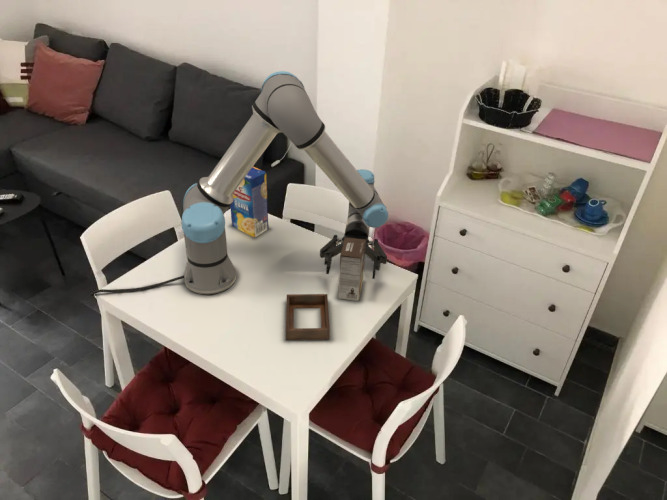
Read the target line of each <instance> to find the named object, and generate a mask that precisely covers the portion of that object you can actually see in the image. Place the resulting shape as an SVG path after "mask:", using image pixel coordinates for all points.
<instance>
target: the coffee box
mask: <svg viewBox="0 0 667 500" xmlns="http://www.w3.org/2000/svg"><path fill="white" fill-rule="evenodd" d="M365 247H366V240H364V239H356V238H345V239H344V243H343V247H342V250H341V253H340V254H339V256H340V257H339V272H338V273H339V274H338V293H337V294H338V295H337V298H338V299H339V300H340V299H341V300H350V301H355V302H358V301H359V300H360V296H361V293H362V287H363V282H364V270H365V258H366V254H365Z"/></svg>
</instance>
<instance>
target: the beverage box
mask: <svg viewBox="0 0 667 500" xmlns="http://www.w3.org/2000/svg"><path fill="white" fill-rule="evenodd" d="M267 182H268V181H267V171H265V170H262V169H260V168H258V167H255V166H253V167H252V168H251V170H250V171H249V172H248V174H247V175H246V176H245V178H244V179H243V180H242V182H241V183H240V184H239V186H238V187H237V188H236V190H235V191H234V192H233V194H232V195H233V202H232V204H231V205H230V206H229V208H230V209H229V210H230V220H231V227H233V228H235V229H237V230H239V231H240V232H243V233H244V234H247V235H248V236H250V237H252V238H256V237H258V236H260V235H261V234H263V233H264V232H266V231H268V230H269V211H268V208H269V207H268V185H267V184H268V183H267Z"/></svg>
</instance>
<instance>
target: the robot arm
mask: <svg viewBox="0 0 667 500" xmlns="http://www.w3.org/2000/svg"><path fill="white" fill-rule="evenodd" d="M251 109H252V114H251V116H250V117H249V119H248V121H247V122H246V123H245V125H244V126H243V127H242V128H241V131H240V132H239V133H238V135H236V137H235V139H233V142H232V143H231V144H230V146H229V147H228V149H227V150H226V151H225V153H224V155H223V156H222V157H221V158H220V160H219V161H218V162H217V164H216V165H215V167H214V168H213V170H211V173H210V174H209V175H208V176H203V177H201V178H200V179H199V180H198V182H195V183H194V184H192V185H191V186H189V188H187V190H186V192H185V194H184V196H183V200H182V207H183V213H182V214H181V215H182V216H181V222H180V223H181V229H182V232H183V233H182V234H183V239H184V244H185V252H186V259H187V261H186V265H185V268H184V272H183V275H181V276H178V277H174V278H171V279H168V280H165V281H162V282H158V283H154V284H151V285H146V286H145V285H144V286H140V287H133V288H132V287H131V288H119V289H118V288H117V289H107V288H106V289H105V288H104V289H103V288H102V289H101V288H100V289H96V290H94V291H92V292H91V293H90V294H89V297H93V296H94V295H96V294H99V293H125V292H135V291H143V290H149V289H153V288H156V287H159V286H160V287H161V286H163V285H167V284H169V283H174V282H175V281H179V280H182V279H183V281H184V285H185V287H186V288H187V289H188V290H189V291H190V292H193V293H195V294H199V295H215V294H219V293H222V292H224V291H226V290H228V289H230V288H231V287H232V286H233V285H234V283H235V282H236V278H237V272H236V267H235V266H234V264H233V262H232V260H231V258H230V256H229V255H228V254H229V252H228V243H227V232H226V218H225V214H226V212H227V210H228V209H229V208H230V205H231V204H232V202H233V195H232V194H233V192H234V191H235V190H236V188H237V187H238V186H239V184H240V183H241V182H242V180H243V179H244V178H245V176H246V175H247V174H248V172H249V171H250V170H251V168H252V167H255V164H256V163H257V161H258V160H259V159H260V158H261V157H262V155H263V154H264V152H265V151H266V150H267V148H268V147H269V146H270V144H271V143H272V141H273V140H274V139H275V137H276V136H277V135H278V134H280V133H282V134H283V135H284V136H285V137H286V138H287V139H289V141H290V142H291V143H292V144H293V145H294V146H295V147H296V148H297V150H303V151H304V152H305V153H306V154H307V155H308V157H310V159H311V160H312V161H313V162H314V163H315V164H316V165H317V167H318V168H319V169H320V170H321V171H322V172H323V174H324V175H325V176H326V177H327V178H328V179H329V181H331V182H332V183H333V185H334V186H335V187H336V188H337V189H338V191H340V193H341V194H342V195H343V196H344V197H345V198H346V200H347V201H348V212H347V218H346V222H345V223H346V224H345V229H344V234H343V237H339V236H338V235H337V234H334V235H333V236H332V239H330V240H329V241H328V242H327V243H326V244H324V245H323V246H322V247H321V248H320V249H319V258H322V259H323V258H324V259H323V264H324V265H325V266H326V269H325V271H326V273H325V274H326V275H330V271H331V266H332V261H333V258H334V257H336V256H338V255H340V254H341V250H342V247H343V243H344V239H345V238H356V239H364V240H366V247H365V256H367V258H369V259H370V260H371V261H372V262H373V266H372V267H373V268H372V277H371V279H372V280H375V279H376V272H377V271H380V269H381V264H382V265H386V264H387V261H388V255H387V254H386V253H385V251H384V249H383V248H382V246H381V245H380V243H379V239H378V238H374V240H369V235H370V228H372V229H376V228H377V229H378V228H380V227H382V226H384V225H385V224H386V223H387V221H388V219H389V211H388V209H387V205H385V204H384V202H383V200H382V198H381V197H380V195H379V192H378V191H377V190H376V187H375V182H376V181H375V174H374V173H373V172H372V171H371V170H369V169H365V168H364V169H363V168H362V169H356V167H355V166H354V165H353V164H352V162H351V161H350V160H349V159H348V158H347V156H346V155H345V154H344V153H343V151H342V150H341V149H340V147H338V145H337V144H336V143H335V141H334V140H333V139H332V137H330V135H329V134H328V133H327V132H326V125H325V123H324V122H323V120H322V119H321V118H320V117H319V115H318V113H317V111H316V109H315V107H314V105H313V103H312V101H311V98H310V96H309V95H308V93H307V91H306V89H305V85H304V84H303V82H302V81H301V80H300V79H299V77H297V75H295V74H294V73H292V72H290V71H286V70H279V71H275V72H271V74H269V75H267V76H266V77H265V79H264V81H263V83H262V85H261V89H260V93H259V95H258V97H257V98H256V100H255V101H254V102H253V104H252V105H251Z"/></svg>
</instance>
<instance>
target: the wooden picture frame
mask: <svg viewBox="0 0 667 500" xmlns="http://www.w3.org/2000/svg"><path fill="white" fill-rule="evenodd" d="M285 303H286V304H285V305H286V306H285V307H286V308H285V309H286V310H285V311H286V312H285V340H286V341H301V340H302V341H303V340H304V341H305V340H306V341H308V340H309V341H311V340H317V341H318V340H330V337H331V336H330V335H331V325H330V313H329V312H330V311H329V299H328V293H306V294H305V293H299V294H297V293H296V294H295V293H292V294H290V293H288V294H286V301H285ZM295 309H319V310H320V325H321V326H320V327H307V328H303V327H301V328H299V327H298V328H296V327H295V325H294V324H295V319H294V318H295ZM294 327H295V328H294Z"/></svg>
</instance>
